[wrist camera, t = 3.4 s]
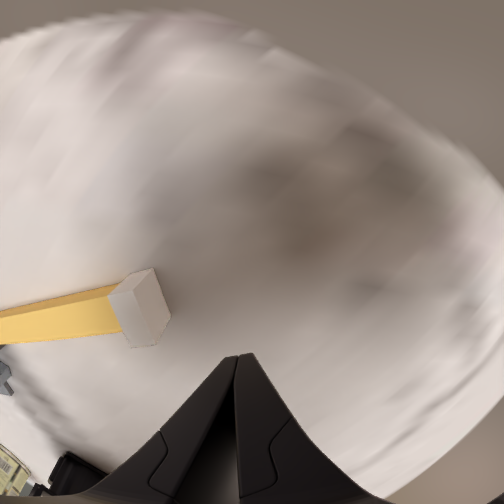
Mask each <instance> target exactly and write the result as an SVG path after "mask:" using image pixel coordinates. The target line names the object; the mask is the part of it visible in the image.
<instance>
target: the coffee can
mask: <svg viewBox="0 0 504 504" xmlns="http://www.w3.org/2000/svg"><path fill="white" fill-rule="evenodd" d="M29 475H30V471H29V470H28V469H27V468H26V467H25V465H24V464H22V462H21V461H20V460H19V459H17V458H16V457H15V456H14V455H13V454H12V453H11V452H9V451H8V450H7V449H6V448H5V447H3V446H2V445H1V444H0V495H7V496H19V494H20V492H21V490H22V488H23V486H24V484H25V482H26V480H27V479H28V477H29Z"/></svg>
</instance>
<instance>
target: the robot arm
mask: <svg viewBox="0 0 504 504" xmlns="http://www.w3.org/2000/svg"><path fill="white" fill-rule="evenodd" d="M48 483H49V484H50V485H51V486H50V488H49V489H48V488H46V487H45V486H44V485H43V484H41V485H39V484H37V483H35V485H34V487H33V489H32V491H31V493H30V494H29V496H7V495H0V504H395V503H392V502H390V501H387V500H384V499H382V498H379V497H377V496H374V495H372V494H371V493H369V492H367V491H366V490H364V489H363V488H362V487H360V486H359V485H358V484H357V483H355V482H354V481H353V480H352V479H351V478H350V477H348V476H347V475H346V474H345V473H344V472H343V471H342V470H341V469H340V468H339V467H337V466H336V465H335V464H334V463H333V462H332V461H331V460H330V459H329V458H328V457H327V456H326V455H325V454H324V453H323V452H322V451H321V450H320V449H319V448H318V447H317V446H316V445H315V444H314V443H313V442H312V441H311V439H310V438H309V437H308V436H307V434H306V433H305V432H304V430H303V429H302V428H301V426H300V425H299V423H298V422H297V420H296V419H295V418H294V416H293V415H292V413H291V412H290V410H289V409H288V407H287V406H286V404H285V403H284V401H283V400H282V398H281V397H280V395H279V393H278V392H277V390H276V389H275V387H274V386H273V384H272V383H271V381H270V379H269V378H268V376H267V375H266V373H265V372H264V370H263V368H262V367H261V365H260V364H259V362H258V360H257V359H256V357H255V356H254V354H253V353H247V354H242V355H239V356H237V355H236V356H230V357H225V358H224V359H223V360H222V361H221V362H220V363H219V364H218V366H217V367H216V368H215V369H214V370H213V371H212V372H211V374H210V375H209V376H208V377H207V378H206V379H205V380H204V381H203V383H202V384H201V385H200V386H199V387H198V388H197V389H196V390H195V391H194V393H193V394H192V395H191V396H190V397H189V398H188V399H187V400H186V401H185V402H184V404H183V405H182V406H181V407H180V408H179V409H178V410H177V411H176V412H175V413H174V414H173V415H172V417H171V418H170V419H169V420H168V421H167V422H166V423H165V424H164V425H163V426H162V427H161V428H160V431H157V432H156V433H155V434H154V435H153V436H152V438H151V439H150V440H149V441H148V442H146V443H145V444H144V445H143V446H142V447H141V448H140V449H139V450H138V451H137V452H136V453H135V454H134V455H132V456H131V457H130V458H129V459H128V460H127V461H125V462H124V463H123V464H122V465H120V466H119V467H118V468H117V469H115V470H114V471H113V472H112V473H110V474H109V475H107V474H105V473H103V472H101V471H99V470H98V469H96V468H94V467H92V466H91V465H89V464H87V463H86V462H84V461H82V460H81V459H79V458H77V457H76V456H74V455H73V454H71V453H69V452H66V454H65V456H64V458H63V457H60V458H59V460H58V461H57V463H56V465H55V467H54V469H53V471H52V473H51V475H50V477H49V479H48ZM487 504H504V493H502V494H501V495H499V496H498V497H497V498H495V499H494V500H492V501H491V502H489V503H487Z"/></svg>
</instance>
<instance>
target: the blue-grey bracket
mask: <svg viewBox="0 0 504 504" xmlns="http://www.w3.org/2000/svg"><path fill="white" fill-rule="evenodd" d="M10 376H11V373H10V370H9V367H8V366H6V365H5V364H3V363H2V362H0V394H3V395H8V396H12V394H13V391H12V390H11V388H10V387H9V385H8V384H7V382H6V381H7V380H8V378H9V377H10Z"/></svg>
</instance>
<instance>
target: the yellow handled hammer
mask: <svg viewBox="0 0 504 504" xmlns="http://www.w3.org/2000/svg"><path fill="white" fill-rule="evenodd" d="M170 317H171V314H170V312H169V309H168V306H167V304H166V301H165V299H164V296H163V293H162V291H161V288H160V285H159V283H158V280H157V277H156V274H155V272H154V269H153V268H151V269H147V270H143V271H139V272H135V273H131V274H130V275H128V276H127V277H126V278H125V279H124V280H123V281H122V282H121V283H119V284H114V285H110V286H106V287H101V288H97V289H93V290H89V291H84V292H80V293H76V294H72V295H67V296H63V297H59V298H54V299H50V300H46V301H42V302H37V303H33V304H29V305H25V306H20V307H16V308H12V309H7V310H3V311H0V349H1V348H2V347H4V346H5V345H6V344H15V343H28V342H39V341H50V340H60V339H69V338H78V337H86V336H94V335H102V334H110V333H117V332H123V333H124V335H125V337H126V339H127V341H128V343H129V345H130V347H131V348H137V347H145V346H153V345H156V344H157V342H158V340H159V339H160V337H161V335H162V333H163V331H164V329H165V327H166V325H167V323H168V321H169V319H170Z"/></svg>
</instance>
